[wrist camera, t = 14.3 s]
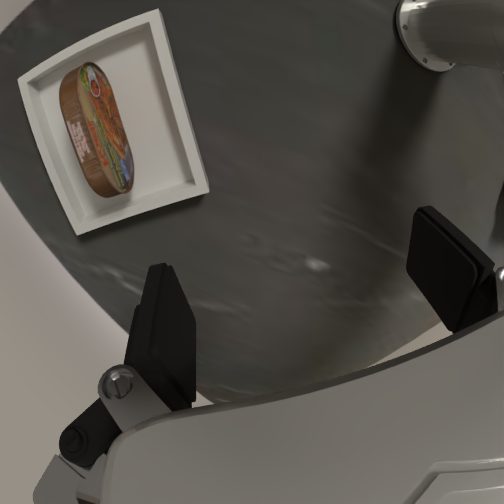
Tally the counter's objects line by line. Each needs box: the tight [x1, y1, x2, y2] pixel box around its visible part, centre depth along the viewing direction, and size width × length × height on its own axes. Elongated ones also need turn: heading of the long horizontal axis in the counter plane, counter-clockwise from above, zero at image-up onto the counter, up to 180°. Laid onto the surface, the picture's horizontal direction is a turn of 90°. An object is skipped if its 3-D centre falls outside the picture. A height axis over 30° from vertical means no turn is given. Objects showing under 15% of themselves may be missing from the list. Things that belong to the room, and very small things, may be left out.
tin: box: [59, 62, 134, 198], centre depth 25 cm, size 15×3×8 cm, turn 12°
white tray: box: [18, 9, 209, 235], centre depth 28 cm, size 18×22×3 cm
